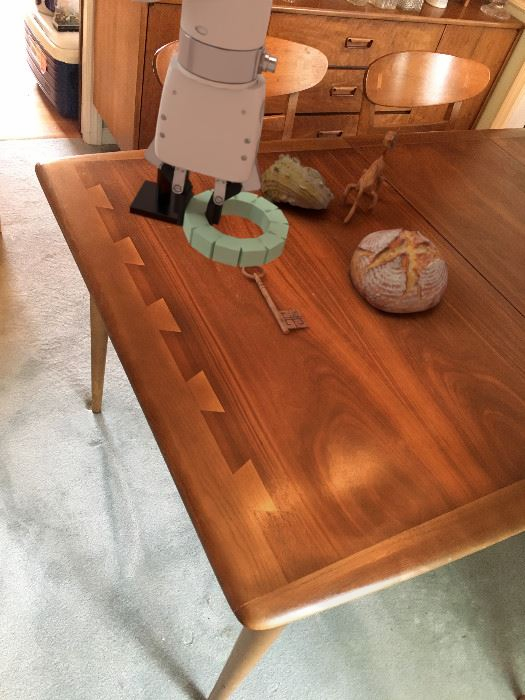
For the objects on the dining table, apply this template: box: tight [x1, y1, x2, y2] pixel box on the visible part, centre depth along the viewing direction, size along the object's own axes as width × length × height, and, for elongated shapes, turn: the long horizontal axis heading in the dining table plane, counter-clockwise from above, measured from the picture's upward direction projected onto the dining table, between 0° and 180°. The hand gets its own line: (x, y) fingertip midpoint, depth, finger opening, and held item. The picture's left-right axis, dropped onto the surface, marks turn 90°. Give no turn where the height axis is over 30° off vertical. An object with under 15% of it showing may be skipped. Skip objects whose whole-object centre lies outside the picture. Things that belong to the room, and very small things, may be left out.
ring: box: [182, 188, 290, 268], centre depth 63 cm, size 12×12×2 cm
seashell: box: [258, 153, 335, 211], centre depth 103 cm, size 11×14×10 cm
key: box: [241, 266, 308, 335], centre depth 86 cm, size 6×1×15 cm
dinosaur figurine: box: [342, 127, 401, 224], centre depth 105 cm, size 18×7×14 cm, turn 154°
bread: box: [349, 227, 449, 314], centre depth 92 cm, size 16×20×10 cm
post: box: [129, 168, 195, 225], centre depth 92 cm, size 9×9×12 cm
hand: (196, 221), depth 63 cm, fingers closed on ring, 2 cm apart
